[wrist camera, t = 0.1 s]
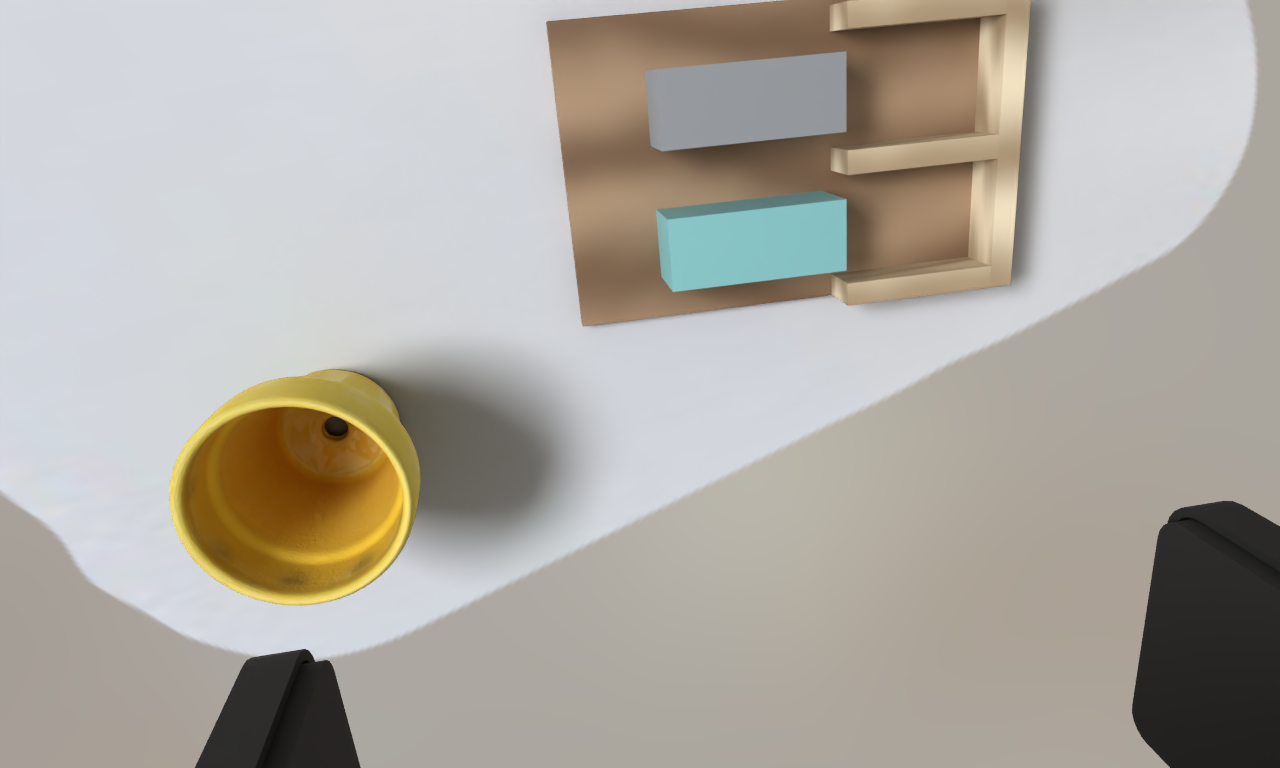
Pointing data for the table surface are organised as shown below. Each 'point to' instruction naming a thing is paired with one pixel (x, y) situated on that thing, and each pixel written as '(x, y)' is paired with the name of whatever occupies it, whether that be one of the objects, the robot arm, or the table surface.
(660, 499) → the table surface
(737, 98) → the grey rectangular block
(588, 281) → the comb board
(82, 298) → the table surface
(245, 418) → the plant pot
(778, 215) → the aqua foam brick
